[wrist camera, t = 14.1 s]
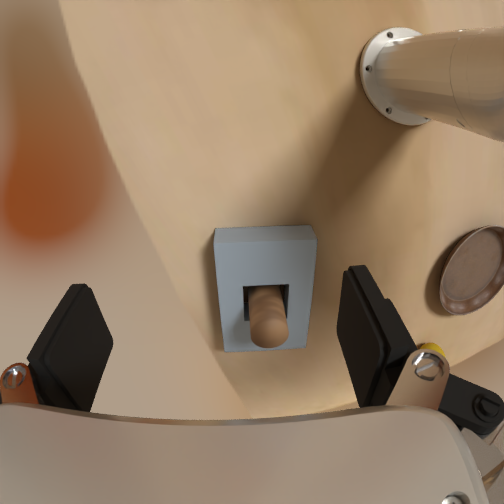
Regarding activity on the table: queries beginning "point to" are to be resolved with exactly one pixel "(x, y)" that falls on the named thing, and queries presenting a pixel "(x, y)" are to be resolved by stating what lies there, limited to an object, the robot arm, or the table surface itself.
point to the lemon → (433, 347)
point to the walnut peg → (267, 316)
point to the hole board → (264, 278)
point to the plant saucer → (473, 271)
